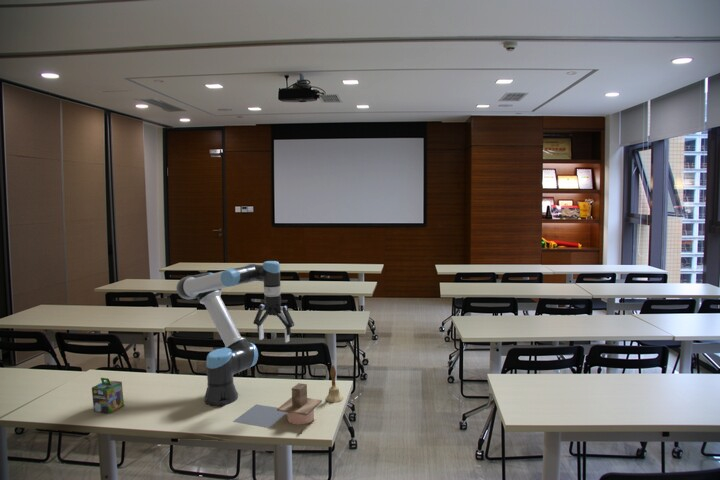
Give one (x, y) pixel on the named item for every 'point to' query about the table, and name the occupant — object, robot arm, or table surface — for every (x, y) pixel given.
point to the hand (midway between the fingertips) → (274, 340)
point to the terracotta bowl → (300, 418)
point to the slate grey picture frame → (261, 416)
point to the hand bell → (333, 389)
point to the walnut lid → (299, 401)
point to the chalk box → (107, 396)
